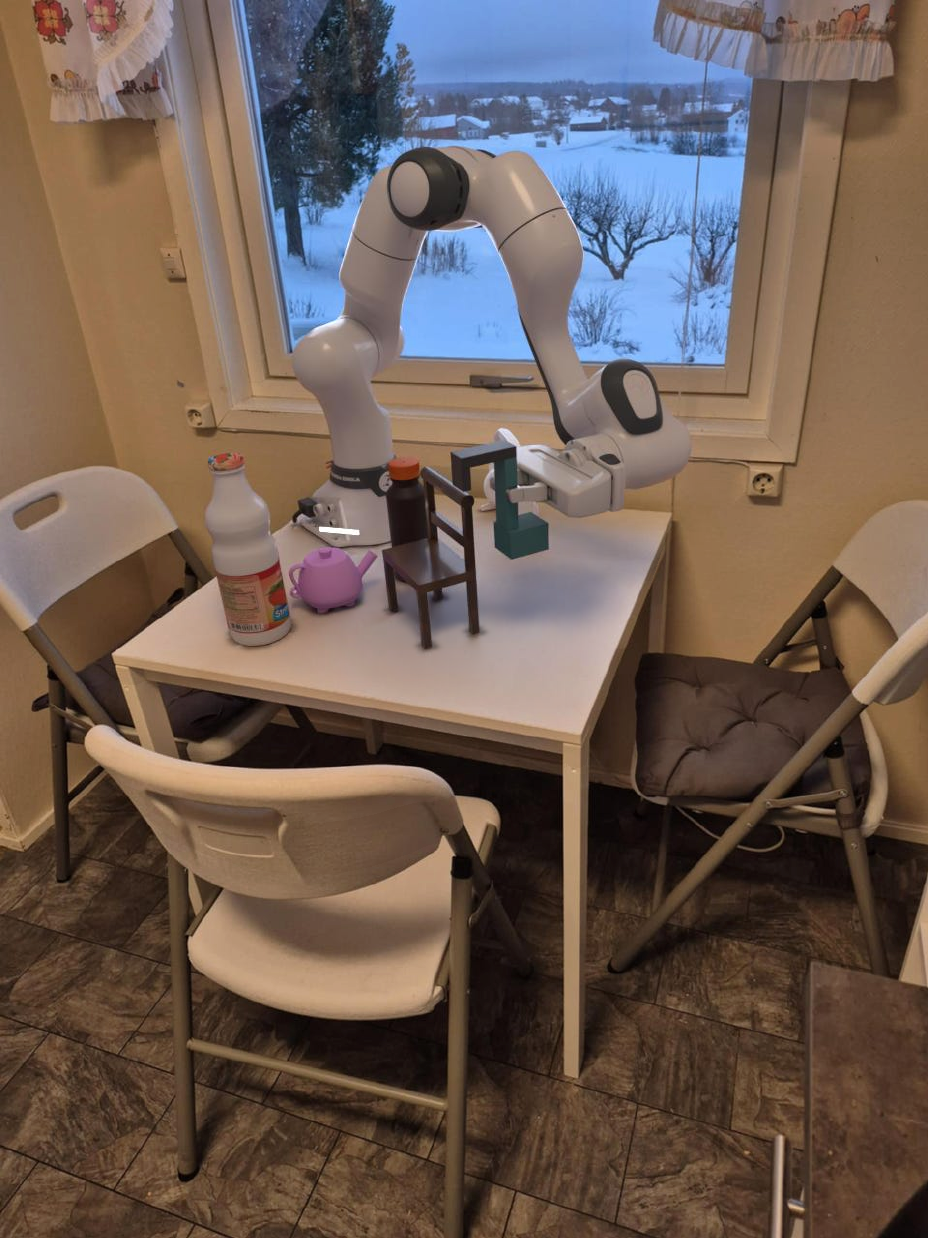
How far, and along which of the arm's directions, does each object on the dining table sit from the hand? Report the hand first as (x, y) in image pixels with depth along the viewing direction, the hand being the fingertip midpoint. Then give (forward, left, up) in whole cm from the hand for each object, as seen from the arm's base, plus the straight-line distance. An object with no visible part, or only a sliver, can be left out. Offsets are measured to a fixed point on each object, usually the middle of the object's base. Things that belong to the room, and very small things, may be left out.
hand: (500, 490), depth 114 cm
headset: (-27, +32, -24) cm, 48 cm away
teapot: (-30, -7, -24) cm, 39 cm away
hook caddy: (0, +1, -9) cm, 9 cm away
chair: (-13, -3, -23) cm, 27 cm away
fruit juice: (-32, -21, -24) cm, 45 cm away
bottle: (-27, +7, -24) cm, 36 cm away
